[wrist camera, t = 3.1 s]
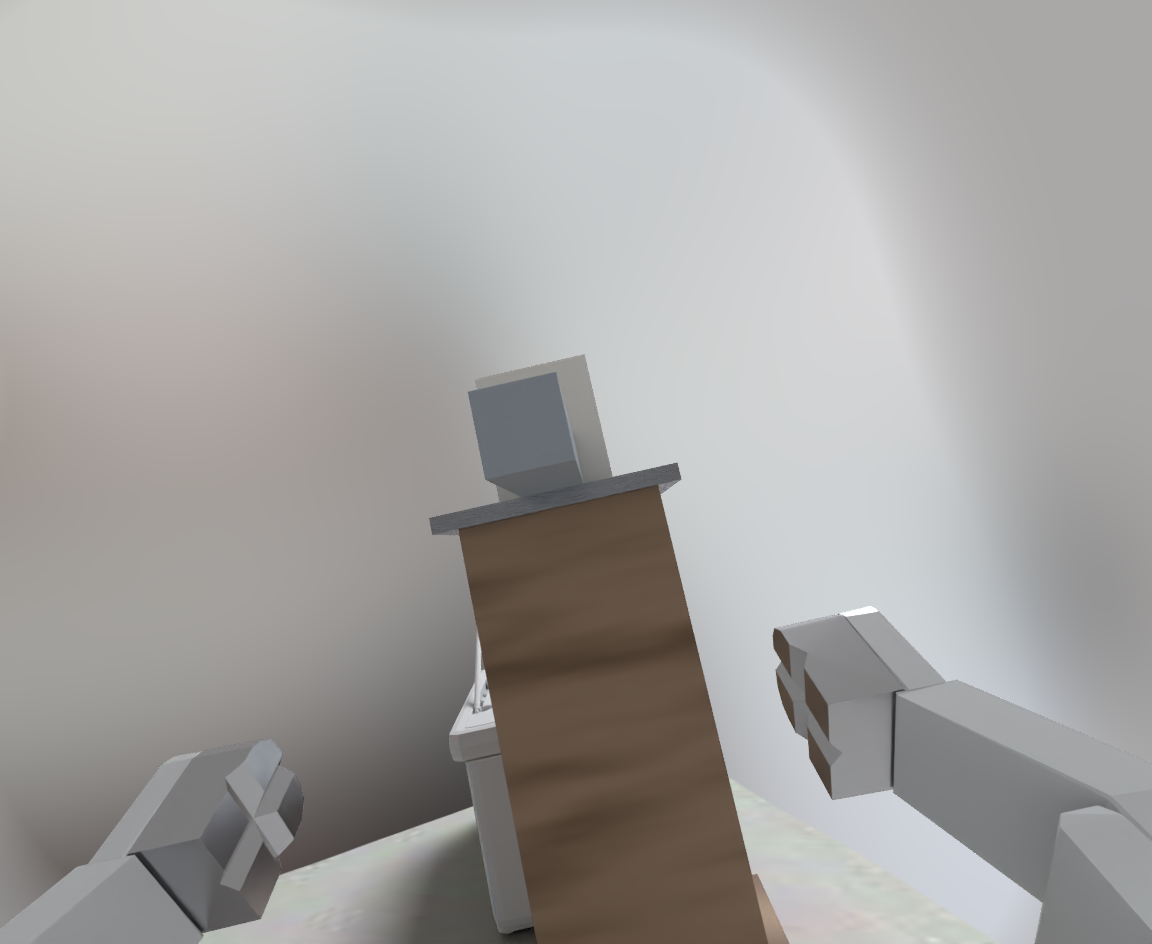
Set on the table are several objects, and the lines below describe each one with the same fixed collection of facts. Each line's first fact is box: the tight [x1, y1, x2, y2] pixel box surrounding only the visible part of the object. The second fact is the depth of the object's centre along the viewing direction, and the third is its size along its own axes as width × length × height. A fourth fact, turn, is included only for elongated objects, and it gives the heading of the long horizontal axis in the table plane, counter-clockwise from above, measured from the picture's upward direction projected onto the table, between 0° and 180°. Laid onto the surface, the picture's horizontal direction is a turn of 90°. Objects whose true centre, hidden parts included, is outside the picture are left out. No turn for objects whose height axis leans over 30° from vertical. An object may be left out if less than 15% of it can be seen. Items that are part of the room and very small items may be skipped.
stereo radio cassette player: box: [449, 630, 534, 934], centre depth 45 cm, size 21×8×20 cm, turn 4°
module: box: [468, 355, 612, 502], centre depth 27 cm, size 18×6×7 cm, turn 177°
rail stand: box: [429, 463, 789, 944], centre depth 29 cm, size 11×13×26 cm
